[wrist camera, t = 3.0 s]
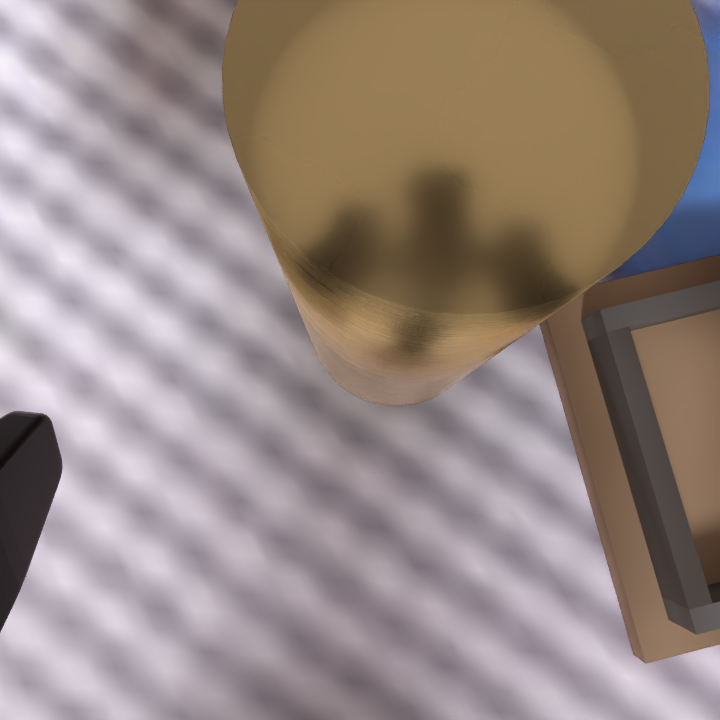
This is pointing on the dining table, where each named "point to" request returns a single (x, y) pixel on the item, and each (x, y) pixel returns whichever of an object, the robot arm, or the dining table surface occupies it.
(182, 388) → the dining table surface
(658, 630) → the square brown tray
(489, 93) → the billet
